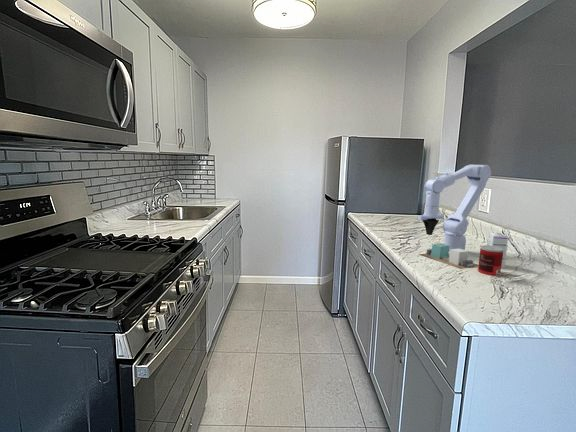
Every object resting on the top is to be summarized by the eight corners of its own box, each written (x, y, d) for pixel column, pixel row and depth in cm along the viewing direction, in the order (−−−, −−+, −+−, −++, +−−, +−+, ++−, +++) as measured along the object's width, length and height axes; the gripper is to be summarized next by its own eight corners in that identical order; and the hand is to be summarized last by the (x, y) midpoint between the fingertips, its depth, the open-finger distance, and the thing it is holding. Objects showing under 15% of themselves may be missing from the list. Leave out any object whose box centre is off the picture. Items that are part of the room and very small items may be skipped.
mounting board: (436, 254, 161) (437, 251, 161) (480, 268, 142) (480, 265, 142) (417, 256, 156) (418, 254, 156) (460, 271, 137) (460, 268, 137)
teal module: (439, 254, 156) (440, 243, 155) (448, 257, 152) (449, 245, 151) (431, 256, 154) (432, 244, 153) (439, 258, 150) (440, 246, 149)
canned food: (497, 273, 136) (500, 246, 134) (502, 279, 129) (506, 251, 127) (475, 270, 138) (478, 244, 137) (479, 277, 131) (482, 249, 129)
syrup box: (504, 270, 139) (509, 236, 137) (488, 269, 141) (493, 235, 138) (499, 266, 145) (503, 233, 142) (483, 265, 146) (488, 232, 144)
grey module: (457, 260, 148) (459, 248, 147) (467, 263, 144) (468, 251, 143) (448, 262, 145) (450, 249, 144) (458, 265, 141) (459, 252, 140)
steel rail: (432, 252, 159) (432, 248, 159) (473, 266, 141) (473, 261, 140) (425, 253, 157) (425, 249, 157) (466, 267, 139) (466, 262, 138)
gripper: (436, 204, 164) (433, 231, 167) (413, 205, 158) (411, 233, 160) (448, 206, 158) (445, 234, 160) (425, 207, 152) (422, 237, 154)
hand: (429, 234), depth 160 cm, fingers closed
